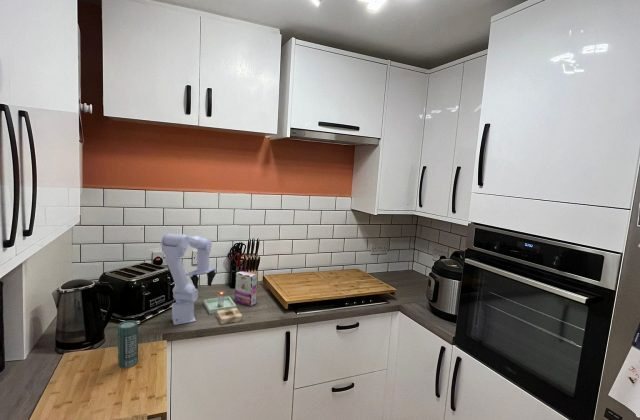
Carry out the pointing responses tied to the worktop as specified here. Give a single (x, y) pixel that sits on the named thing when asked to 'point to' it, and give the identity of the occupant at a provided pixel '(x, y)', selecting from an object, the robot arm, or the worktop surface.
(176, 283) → the robot arm
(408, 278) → the worktop surface
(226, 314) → the pin holder block
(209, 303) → the tray
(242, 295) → the candy bar box
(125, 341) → the can
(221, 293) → the metal pin
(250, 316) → the worktop surface
